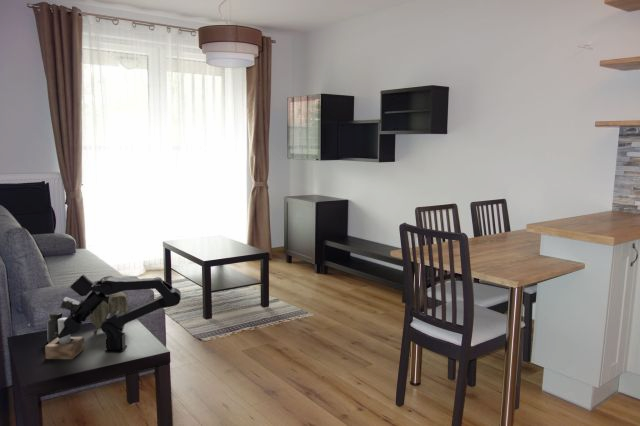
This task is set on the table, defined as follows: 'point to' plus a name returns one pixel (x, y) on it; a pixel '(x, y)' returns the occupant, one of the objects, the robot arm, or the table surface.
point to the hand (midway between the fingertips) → (61, 333)
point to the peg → (60, 326)
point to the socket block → (64, 348)
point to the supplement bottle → (53, 325)
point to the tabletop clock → (108, 308)
